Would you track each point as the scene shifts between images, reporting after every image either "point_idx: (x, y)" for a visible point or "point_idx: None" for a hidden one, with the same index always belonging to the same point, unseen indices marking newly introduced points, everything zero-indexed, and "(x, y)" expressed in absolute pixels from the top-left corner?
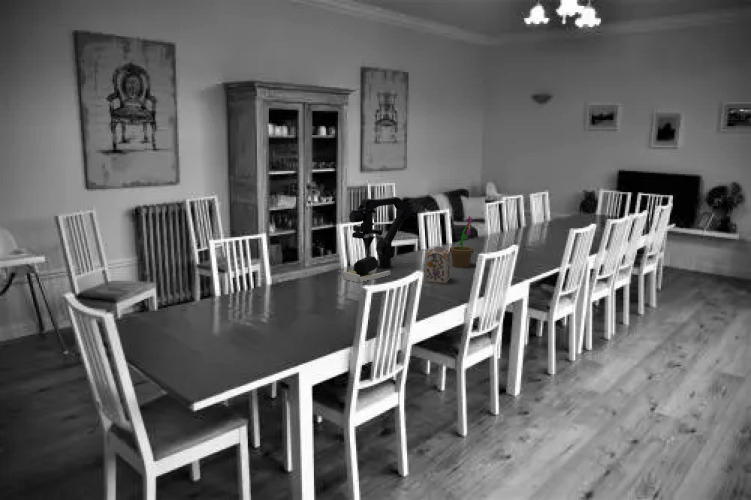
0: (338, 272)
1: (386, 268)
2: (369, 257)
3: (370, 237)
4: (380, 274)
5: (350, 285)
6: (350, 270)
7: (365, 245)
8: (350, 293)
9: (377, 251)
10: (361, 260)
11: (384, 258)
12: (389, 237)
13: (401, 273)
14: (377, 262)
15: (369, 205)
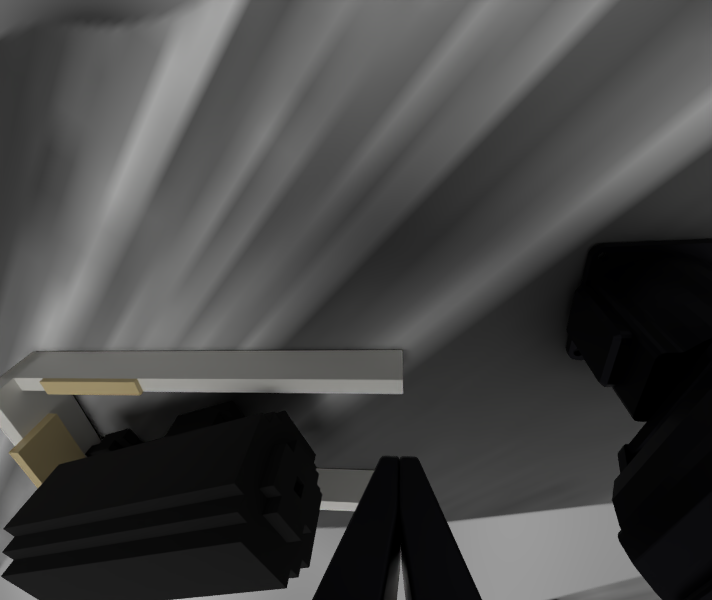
0: (48, 151)
1: (577, 354)
2: (207, 571)
3: None
4: None
5: None
6: (22, 459)
7: (347, 538)
8: (6, 533)
9: (700, 396)
10: (62, 584)
11: (635, 413)
12: None
13: (515, 493)
14: (309, 539)
15: None
